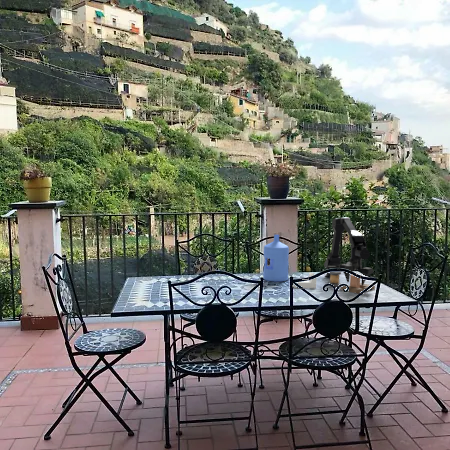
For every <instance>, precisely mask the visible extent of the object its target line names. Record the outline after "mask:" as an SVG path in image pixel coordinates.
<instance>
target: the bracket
mask: <svg viewBox="0 0 450 450" xmlns="http://www.w3.org/2000/svg"><path fill="white" fill-rule="evenodd" d="M313 275H315V273H314V272H309V273H308V278H309V277H310V276H313ZM308 280H309V279H308ZM298 284H299V285H300V286H302V287H303V288H302V289H317V278H315V279H312V280H309V281H304V282H298ZM293 289H298V288H297V287H296V286H295V285H294V288H293Z"/></svg>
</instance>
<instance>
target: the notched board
mask: <svg viewBox="0 0 450 450" xmlns="http://www.w3.org/2000/svg"><path fill="white" fill-rule="evenodd" d="M369 285H370V284H368V283H364V284H363V285H362V282H360V288H357V287H352V286H350V285H347V286H348V287H349V292H348V293H354V294H359V293H360V292H361V291H363V290H364V289H366V288H367V287H368V286H369ZM342 286H343V287H341V286H340V291H344V290H343V289H346V288H347V287H346V286H344V285H342ZM375 286H376V285H374V286H373V287H372V288H371V289H374V290H375V289H376V287H375ZM360 294H361V293H360ZM360 294H359V295H360Z"/></svg>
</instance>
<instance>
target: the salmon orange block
mask: <svg viewBox="0 0 450 450" xmlns="http://www.w3.org/2000/svg"><path fill="white" fill-rule="evenodd" d="M360 283H361V277H360V278H357V277H355V276H353V274H350V279H349V286H352V287H357V288H360Z"/></svg>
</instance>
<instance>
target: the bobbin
mask: <svg viewBox="0 0 450 450" xmlns="http://www.w3.org/2000/svg"><path fill="white" fill-rule="evenodd" d="M329 274H330V278H329V283H330V284H332V285H334V286H333V287H336V286H338V285H339V284H341V283H340V275H342V271H340V272H330V273H329ZM338 287H339V286H338Z"/></svg>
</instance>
